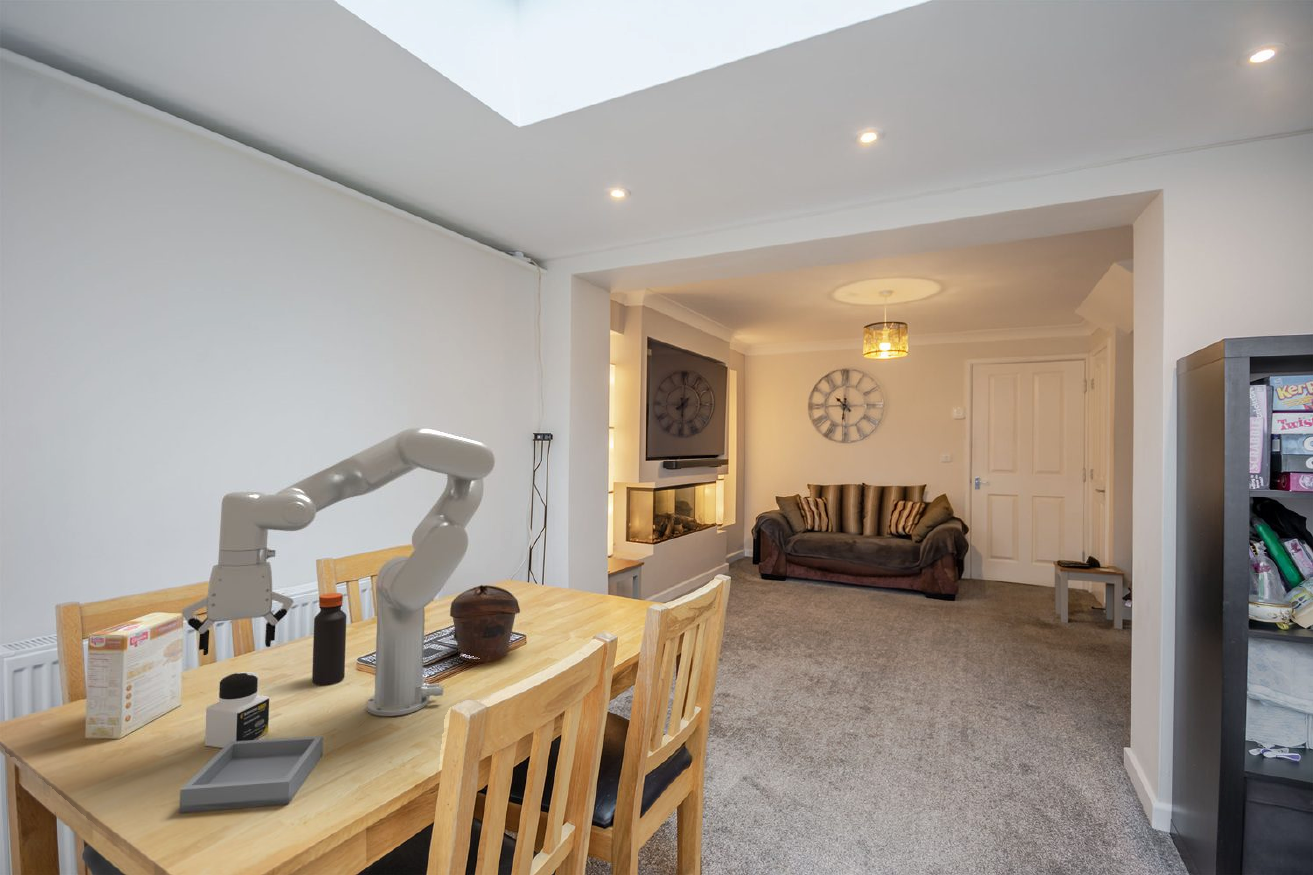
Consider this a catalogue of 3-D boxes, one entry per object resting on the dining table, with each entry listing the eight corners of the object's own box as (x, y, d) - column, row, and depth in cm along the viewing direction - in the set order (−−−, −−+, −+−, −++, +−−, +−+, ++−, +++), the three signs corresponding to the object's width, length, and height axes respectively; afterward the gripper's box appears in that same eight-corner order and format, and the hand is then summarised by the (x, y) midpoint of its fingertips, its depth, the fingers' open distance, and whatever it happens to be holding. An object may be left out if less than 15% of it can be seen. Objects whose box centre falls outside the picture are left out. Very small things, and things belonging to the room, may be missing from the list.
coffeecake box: (148, 704, 127) (152, 611, 128) (182, 705, 127) (186, 612, 128) (81, 738, 112) (86, 633, 113) (120, 739, 112) (124, 634, 113)
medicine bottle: (236, 751, 109) (238, 684, 109) (203, 746, 111) (206, 680, 111) (269, 732, 116) (271, 670, 116) (238, 728, 118) (240, 666, 118)
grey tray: (322, 755, 108) (323, 735, 109) (288, 803, 94) (289, 781, 94) (229, 761, 106) (230, 741, 106) (179, 812, 91) (180, 789, 91)
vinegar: (304, 683, 140) (307, 597, 140) (328, 673, 146) (331, 590, 147) (328, 687, 138) (331, 600, 138) (351, 676, 145) (353, 593, 145)
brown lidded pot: (485, 637, 176) (486, 576, 176) (533, 652, 164) (534, 587, 164) (431, 655, 161) (433, 588, 161) (480, 673, 150) (482, 601, 150)
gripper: (293, 551, 122) (289, 636, 122) (185, 557, 112) (180, 650, 111) (297, 557, 116) (292, 647, 115) (183, 564, 106) (177, 662, 105)
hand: (237, 648), depth 113 cm, fingers open, 9 cm apart
